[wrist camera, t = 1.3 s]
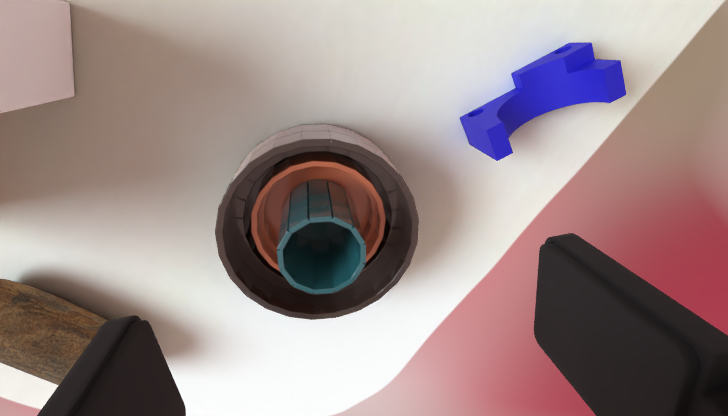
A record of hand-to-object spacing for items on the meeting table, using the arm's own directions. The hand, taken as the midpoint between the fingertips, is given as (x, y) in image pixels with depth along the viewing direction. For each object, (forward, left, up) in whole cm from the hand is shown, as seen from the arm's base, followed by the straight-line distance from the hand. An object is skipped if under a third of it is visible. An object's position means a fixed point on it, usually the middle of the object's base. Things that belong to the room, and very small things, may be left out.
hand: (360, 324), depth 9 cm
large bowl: (+5, +8, -29) cm, 30 cm away
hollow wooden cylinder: (+32, +4, -29) cm, 44 cm away
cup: (+5, +8, -28) cm, 29 cm away
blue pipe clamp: (-18, +8, -29) cm, 35 cm away
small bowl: (+5, +8, -29) cm, 30 cm away
